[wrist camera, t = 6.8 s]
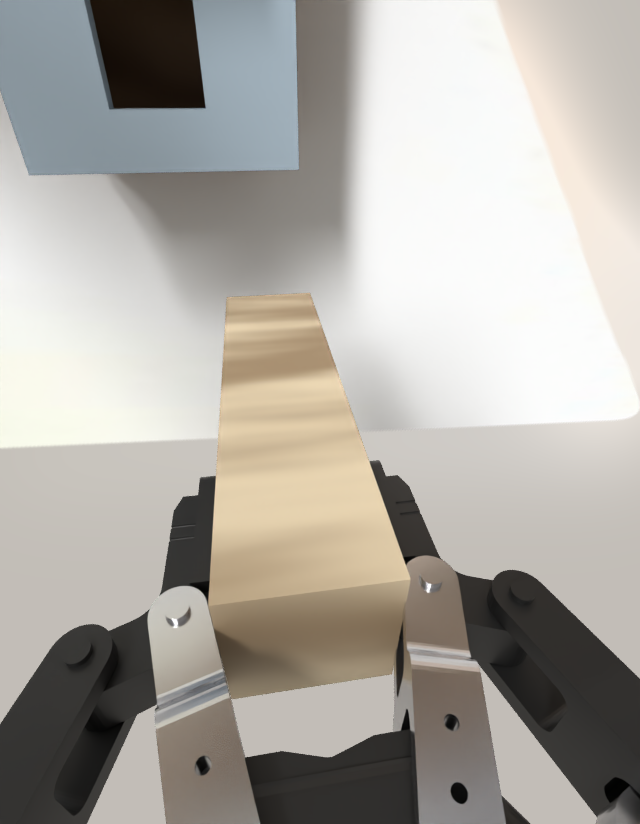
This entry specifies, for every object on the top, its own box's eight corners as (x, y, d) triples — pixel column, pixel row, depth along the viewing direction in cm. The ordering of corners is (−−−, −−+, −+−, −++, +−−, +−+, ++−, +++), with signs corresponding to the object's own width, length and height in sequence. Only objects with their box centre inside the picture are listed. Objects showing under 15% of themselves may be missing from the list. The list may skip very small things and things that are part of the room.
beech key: (226, 297, 21) (208, 606, 9) (309, 292, 22) (410, 579, 9) (235, 370, 24) (232, 699, 11) (310, 364, 24) (392, 674, 11)
